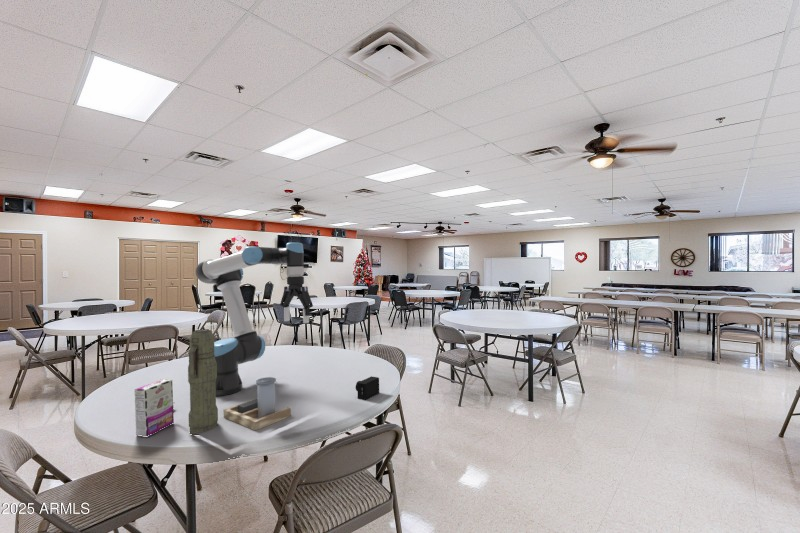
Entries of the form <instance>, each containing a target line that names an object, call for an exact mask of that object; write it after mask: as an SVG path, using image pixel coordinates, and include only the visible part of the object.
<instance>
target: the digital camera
mask: <svg viewBox="0 0 800 533" xmlns="http://www.w3.org/2000/svg"><path fill="white" fill-rule="evenodd" d="M355 390H356V392H357V399H358V400H361V399H362V400H363V401H368V400H369V399H370V397H371V398H373V397H374V395H375V396H376V395H378V394H380V377H378V376H373V375H371V376H369V377H367V378H365V379H363V380H358V381H357V382H356V384H355ZM372 396H373V397H372Z"/></svg>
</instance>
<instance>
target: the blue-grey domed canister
mask: <svg viewBox="0 0 800 533" xmlns="http://www.w3.org/2000/svg"><path fill="white" fill-rule="evenodd" d="M276 382H277V378H276V377H272V376H271V377H270V376H269V377H268V376H267V377H262V378H258V379H257V380H256V381H255V383H256V385H257V386H256V388H257V398H258V417H257V419H260V418H262V417H265V416H267V415H270V414H272V413H275V411H276V385H275V384H276Z"/></svg>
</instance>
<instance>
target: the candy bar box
mask: <svg viewBox="0 0 800 533" xmlns="http://www.w3.org/2000/svg"><path fill="white" fill-rule="evenodd" d="M134 406H135V431H136V432H135V435H142V436H148V435H150V434H153V433H155V432H157V431H159V430H160V429H162V428H164V427H166V426H168V425H170V424H172V423H175V422H174V420H175V419H174V409H173V408H174V392H173V379H164V378H163V379H160V380H157V381H154V382H151V383H148V384H146V385H143V386H140V387H138V388H136V389H134ZM172 425H173V424H172ZM170 426H171V425H170ZM159 432H160V431H159ZM157 433H158V432H157ZM155 434H156V433H155Z"/></svg>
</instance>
